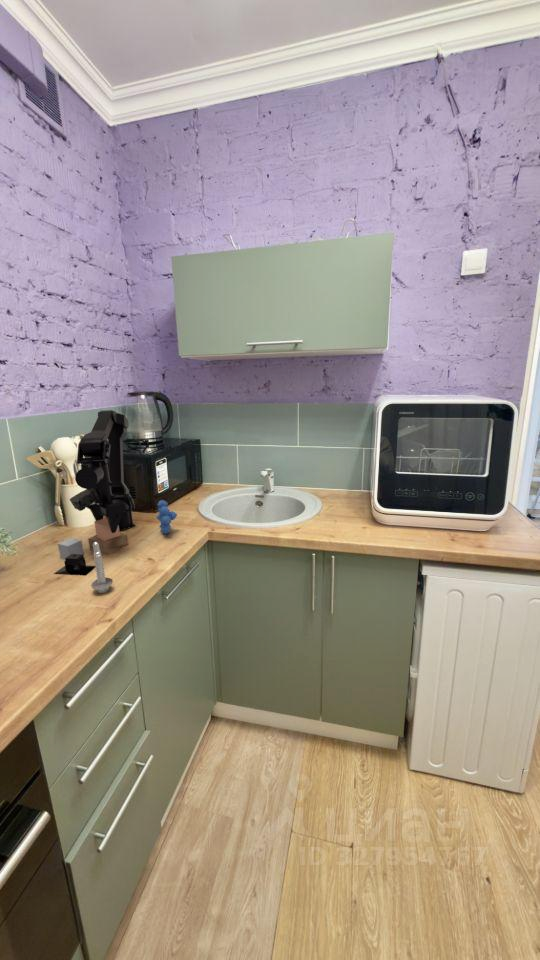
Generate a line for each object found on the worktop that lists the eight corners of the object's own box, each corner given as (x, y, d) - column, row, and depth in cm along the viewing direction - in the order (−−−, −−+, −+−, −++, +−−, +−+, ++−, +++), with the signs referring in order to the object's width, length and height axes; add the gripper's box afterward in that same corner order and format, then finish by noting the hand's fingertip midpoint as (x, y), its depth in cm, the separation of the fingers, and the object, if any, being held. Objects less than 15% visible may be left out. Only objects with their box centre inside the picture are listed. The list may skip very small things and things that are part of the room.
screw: (112, 594, 96) (90, 597, 95) (114, 584, 100) (94, 587, 99) (104, 544, 92) (82, 547, 91) (107, 536, 97) (86, 539, 96)
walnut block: (112, 541, 128) (111, 529, 127) (128, 546, 124) (127, 534, 122) (90, 550, 122) (88, 538, 120) (105, 556, 117) (103, 543, 116)
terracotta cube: (112, 531, 125) (110, 516, 123) (120, 535, 121) (117, 520, 120) (96, 536, 121) (94, 521, 120) (104, 540, 118) (101, 525, 117)
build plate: (104, 567, 111) (102, 551, 110) (89, 580, 104) (86, 563, 103) (64, 564, 113) (62, 549, 112) (46, 577, 106) (43, 561, 105)
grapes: (181, 537, 128) (178, 502, 124) (160, 541, 125) (155, 505, 122) (176, 525, 138) (173, 492, 135) (156, 528, 136) (152, 495, 133)
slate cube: (74, 551, 120) (71, 537, 119) (83, 554, 118) (81, 540, 117) (60, 557, 117) (57, 543, 116) (70, 560, 115) (67, 546, 113)
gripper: (58, 480, 118) (67, 529, 122) (84, 491, 105) (93, 545, 109) (95, 472, 125) (102, 519, 129) (124, 482, 113) (131, 533, 117)
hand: (106, 528), depth 121 cm, fingers open, 9 cm apart
